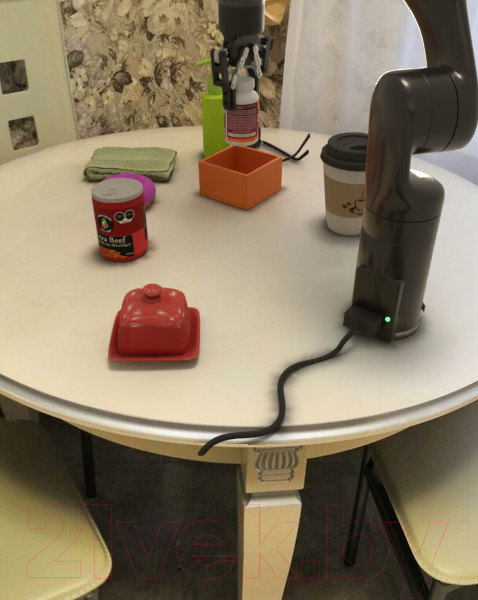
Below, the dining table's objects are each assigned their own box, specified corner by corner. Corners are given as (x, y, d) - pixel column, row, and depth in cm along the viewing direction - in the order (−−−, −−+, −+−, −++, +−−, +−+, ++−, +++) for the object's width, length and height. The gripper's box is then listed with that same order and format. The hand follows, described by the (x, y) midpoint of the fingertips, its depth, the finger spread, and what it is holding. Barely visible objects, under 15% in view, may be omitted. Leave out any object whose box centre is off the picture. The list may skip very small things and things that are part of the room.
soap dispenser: (195, 153, 134) (190, 57, 122) (224, 148, 136) (222, 53, 125) (205, 163, 129) (202, 64, 118) (235, 158, 132) (234, 60, 120)
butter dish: (201, 313, 86) (198, 261, 81) (199, 368, 77) (196, 312, 72) (118, 314, 86) (111, 262, 81) (106, 370, 76) (97, 314, 71)
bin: (247, 210, 112) (247, 176, 108) (199, 194, 117) (198, 161, 113) (281, 189, 119) (282, 156, 115) (234, 174, 125) (234, 143, 121)
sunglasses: (303, 179, 123) (304, 155, 120) (233, 172, 126) (233, 148, 123) (317, 149, 136) (318, 126, 133) (253, 143, 139) (253, 121, 136)
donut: (149, 216, 110) (147, 192, 107) (93, 213, 111) (90, 189, 108) (161, 191, 118) (159, 169, 116) (109, 189, 119) (106, 166, 117)
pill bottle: (265, 142, 112) (266, 80, 105) (236, 150, 109) (236, 86, 103) (245, 132, 116) (246, 72, 110) (217, 139, 113) (216, 77, 107)
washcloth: (171, 183, 121) (170, 168, 119) (82, 183, 121) (79, 167, 120) (178, 158, 132) (177, 143, 130) (96, 157, 132) (94, 142, 130)
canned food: (90, 255, 99) (79, 192, 92) (120, 234, 104) (112, 173, 98) (129, 267, 96) (121, 203, 89) (158, 244, 102) (152, 182, 95)
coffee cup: (329, 245, 101) (337, 159, 93) (305, 215, 110) (310, 133, 102) (392, 236, 104) (406, 151, 95) (363, 207, 113) (373, 126, 104)
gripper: (233, 9, 92) (233, 120, 102) (285, -4, 102) (281, 98, 111) (194, 4, 96) (198, 111, 106) (248, -8, 106) (248, 91, 115)
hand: (241, 104), depth 109 cm, fingers closed on pill bottle, 6 cm apart
